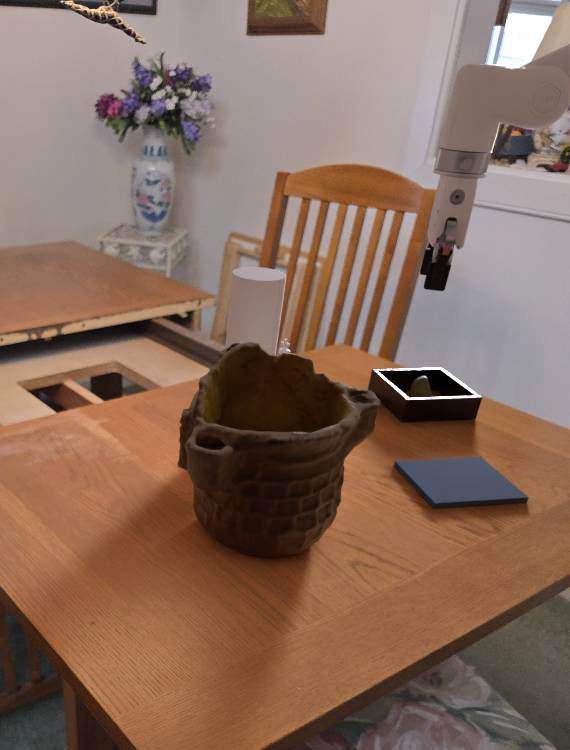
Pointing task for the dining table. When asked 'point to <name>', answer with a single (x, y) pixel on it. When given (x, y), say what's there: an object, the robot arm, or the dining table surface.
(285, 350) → the chess piece
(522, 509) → the dining table surface
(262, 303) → the cylindrical container
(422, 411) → the basin
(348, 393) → the ceramic vessel
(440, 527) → the dining table surface
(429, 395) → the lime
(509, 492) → the mat
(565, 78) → the robot arm
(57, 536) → the dining table surface
